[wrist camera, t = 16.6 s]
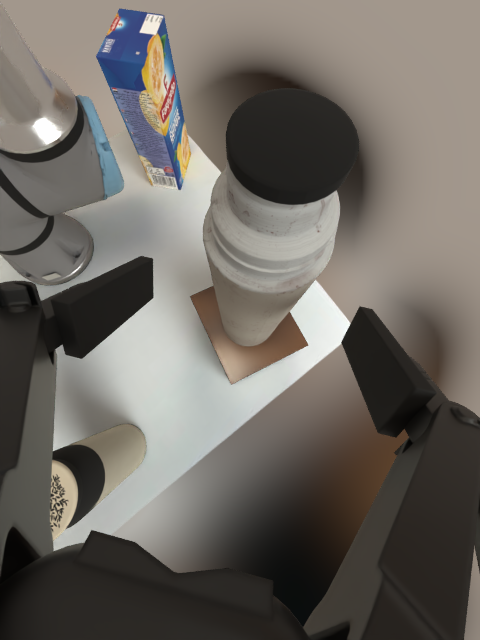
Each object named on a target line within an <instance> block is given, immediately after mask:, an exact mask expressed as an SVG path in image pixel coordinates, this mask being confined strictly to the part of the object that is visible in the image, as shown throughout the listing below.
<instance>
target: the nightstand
mask: <svg viewBox="0 0 480 640" xmlns="http://www.w3.org/2000/svg"><path fill="white" fill-rule="evenodd" d="M190 298H191V300H192V302H193V304H194V306H195V308H196V310H197V312H198V315H199V317H200V319H201V321H202V323H203V325H204V327H205V330H206V332H207V334H208V336H209V338H210V340H211V342H212V345H213V347H214V349H215V351H216V353H217V355H218V357H219V360H220V362H221V364H222V366H223V368H224V370H225V372H226V375H227V377H228V379H229V381H230V383H231V385H232V384H234V383H236V382H238V381H239V380H241V379H243V378H245V377H247V376H249V375H251V374H253V373H255V372H257V371H259V370H261V369H263V368H265V367H267V366H269V365H271V364H273V363H275V362H277V361H279V360H281V359H282V358H284V357H286V356H288V355H290V354H292V353H294V352H296V351H298V350H300V349H302V348H304V347H306V346H308V343H307V342H306V340H305V338H304V336H303V334H302V333H301V331H300V329H299V327H298V326H297V324H296V322H295V320H294V319H293V317H292V315H291V313H290V312H289V313H288V314H287V315H286V316H285V318H284V319H283V320H282V321H281V322H280V323H279V324H278V326H277V327H276V329H275V330H274V331H273V332H272V334H271V335H270V336H269V337H268V338H267V339H266V340H265V341H264V342H263V343H261V344H258V345H255V346H242V345H239V344H237V343H235V342H233V341H232V340H231V339H230V338H229V337H228V336H227V334H226V333H225V330H224V328H223V324H222V319H221V315H220V311H219V306H218V302H217V298H216V293H215V289H214V286H212V287H210V288H208V289H205V290H203V291H201V292H199V293H196V294H194V295H192V296H190Z"/></svg>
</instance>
